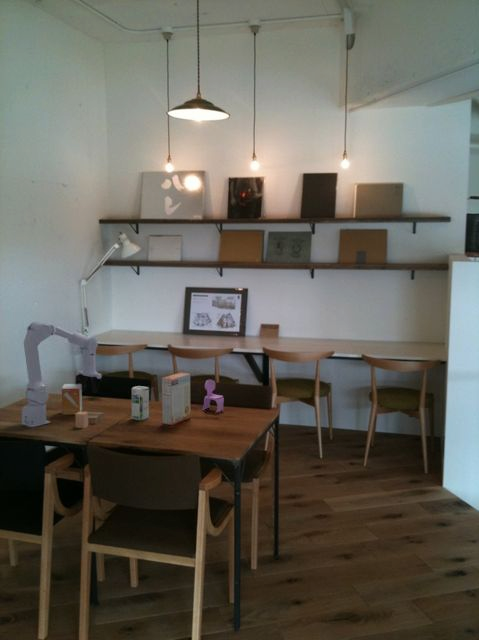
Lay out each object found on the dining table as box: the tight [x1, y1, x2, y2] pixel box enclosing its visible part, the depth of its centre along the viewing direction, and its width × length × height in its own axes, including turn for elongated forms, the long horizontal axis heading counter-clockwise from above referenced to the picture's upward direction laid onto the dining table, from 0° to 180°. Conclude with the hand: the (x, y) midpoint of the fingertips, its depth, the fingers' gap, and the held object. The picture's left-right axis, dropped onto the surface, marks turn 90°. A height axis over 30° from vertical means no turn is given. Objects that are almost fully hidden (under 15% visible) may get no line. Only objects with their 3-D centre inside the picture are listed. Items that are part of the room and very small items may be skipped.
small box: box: [61, 383, 83, 416], centre depth 262 cm, size 8×6×13 cm
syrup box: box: [131, 385, 150, 421], centre depth 256 cm, size 6×6×14 cm
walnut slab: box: [87, 411, 105, 425], centre depth 252 cm, size 9×9×3 cm
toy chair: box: [201, 379, 225, 413], centre depth 271 cm, size 8×9×15 cm
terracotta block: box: [74, 411, 89, 429], centre depth 242 cm, size 4×4×6 cm
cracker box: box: [161, 372, 191, 426], centre depth 253 cm, size 14×6×21 cm, turn 149°
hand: (89, 391), depth 264 cm, fingers open, 7 cm apart
